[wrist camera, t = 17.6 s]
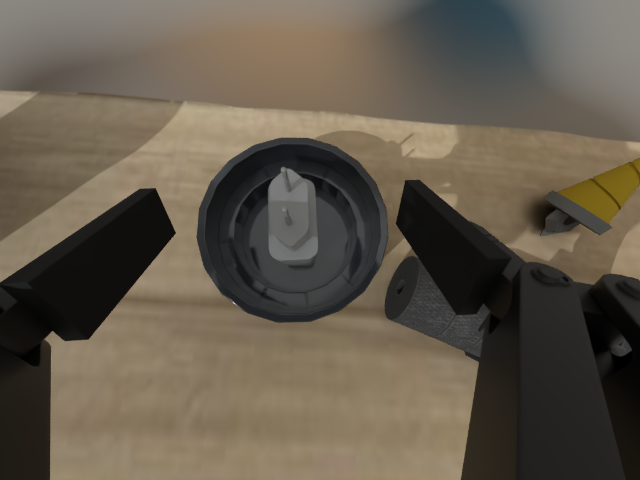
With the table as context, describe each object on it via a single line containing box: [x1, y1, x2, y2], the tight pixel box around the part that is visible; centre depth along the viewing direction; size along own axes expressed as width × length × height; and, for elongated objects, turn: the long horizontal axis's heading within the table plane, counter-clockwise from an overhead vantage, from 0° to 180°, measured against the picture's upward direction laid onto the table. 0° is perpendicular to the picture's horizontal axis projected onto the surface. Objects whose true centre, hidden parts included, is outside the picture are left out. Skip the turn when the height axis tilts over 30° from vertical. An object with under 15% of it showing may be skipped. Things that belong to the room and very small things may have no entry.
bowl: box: [197, 138, 388, 323], centre depth 20 cm, size 14×14×6 cm
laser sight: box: [385, 256, 632, 362], centre depth 17 cm, size 10×22×10 cm, turn 68°
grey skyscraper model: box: [268, 167, 318, 267], centre depth 16 cm, size 3×5×12 cm, turn 3°
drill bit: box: [540, 158, 640, 236], centre depth 21 cm, size 5×5×10 cm
